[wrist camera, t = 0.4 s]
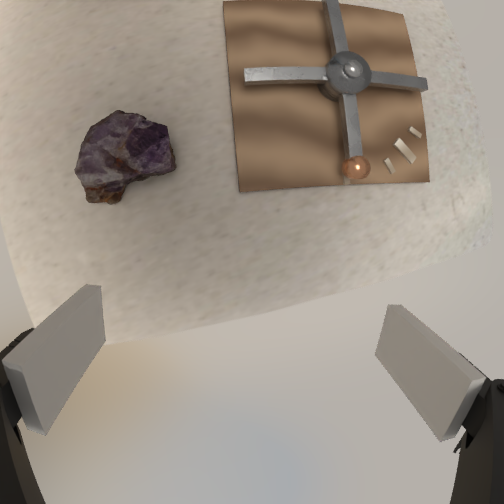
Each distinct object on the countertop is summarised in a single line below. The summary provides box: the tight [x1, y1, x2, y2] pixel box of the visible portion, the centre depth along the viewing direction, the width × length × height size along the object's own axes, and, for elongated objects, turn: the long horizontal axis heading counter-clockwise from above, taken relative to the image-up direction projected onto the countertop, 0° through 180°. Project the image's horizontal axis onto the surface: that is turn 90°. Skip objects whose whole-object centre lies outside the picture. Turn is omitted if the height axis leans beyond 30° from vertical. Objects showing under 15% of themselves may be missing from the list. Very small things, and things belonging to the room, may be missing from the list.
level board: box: [223, 0, 430, 192], centre depth 35 cm, size 26×26×2 cm
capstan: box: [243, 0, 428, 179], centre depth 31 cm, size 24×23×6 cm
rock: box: [75, 110, 176, 204], centre depth 32 cm, size 12×9×10 cm
